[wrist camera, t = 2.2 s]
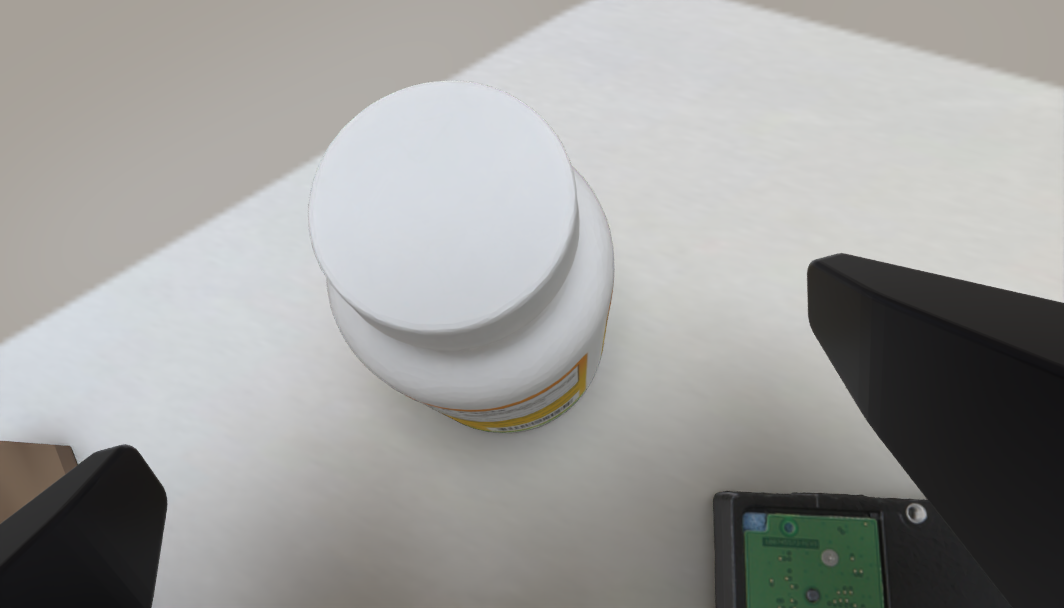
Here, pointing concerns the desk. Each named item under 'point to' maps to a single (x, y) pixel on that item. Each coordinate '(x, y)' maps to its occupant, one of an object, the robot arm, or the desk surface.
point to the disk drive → (841, 554)
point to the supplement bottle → (464, 254)
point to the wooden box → (29, 472)
